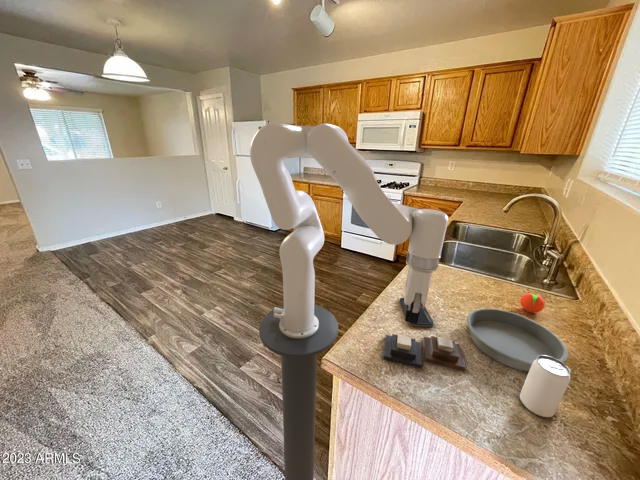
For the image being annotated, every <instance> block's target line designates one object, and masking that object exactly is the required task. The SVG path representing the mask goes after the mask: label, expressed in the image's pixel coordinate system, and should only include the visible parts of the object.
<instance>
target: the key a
mask: <svg viewBox="0 0 640 480" xmlns="http://www.w3.org/2000/svg"><path fill="white" fill-rule="evenodd" d="M397 335H398V337H397V348H401V349H405V350H409V351H410V349H411V338H412V337H410V336H407V335H402V334H397Z"/></svg>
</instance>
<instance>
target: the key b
mask: <svg viewBox="0 0 640 480" xmlns="http://www.w3.org/2000/svg"><path fill="white" fill-rule="evenodd" d="M437 337H438V338H437V346H438V350H443V351H447V352H452V351H453V344H452V340H453V339H452V338H448V337H443V336H439V335H438V336H437Z"/></svg>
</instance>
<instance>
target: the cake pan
mask: <svg viewBox="0 0 640 480" xmlns="http://www.w3.org/2000/svg"><path fill="white" fill-rule="evenodd" d="M466 324H467V326H468V328H469V336H470V338H471V340H472V342H473V343H474V344H475V346H476V347H477V348H478V349H479V350H481V351H482V352H483V353H484V354H485V355H487V356H488V357H490V358H491V359H492V360H494V361H496V362H498V363H501V364H502V365H505V366H507V367H510V368H513V369H514V370H517V371H522V372H527V373H529V370H530V368H531V365H532V363H533V361H534V360H536V359H537V357H538V356H541V355H545V356H550V357H553V358H555V359H557V360H559V361H561V362H562V363H564V364H565V362H566V361H567V360H568V358H569V351H568V348H567V346H566V344H565V342H564V341H562V339H561V338H560V337H559V336H557V335H556V334H555V332H553V331H551V330H550V329H548V328H547V327H545V326H544V325H543V324H540V322H537V321H535V320H534V319H531V318H529V317H527V316H524V315H522V314H519V313H516V312H512V311H508V310H506V309H505V310H504V309H500V308H493V307H492V308H491V307H489V308H488V307H487V308H486V307H485V308H477V309H475V310H471V312H469V313H468V315H467V316H466Z"/></svg>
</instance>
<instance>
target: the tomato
mask: <svg viewBox="0 0 640 480" xmlns="http://www.w3.org/2000/svg"><path fill="white" fill-rule="evenodd" d="M519 302H520V306H521V307H522V309H523V310H525V311H527V312H528V313H536V314H537V313H539V312H540V313H541V311H543V310H544V309H545V305H546V303H545V300H544V298H543V297H542V296H541V295H539V294H537V293H535V292H527V293H525V294H523V295H521V297H520V300H519Z"/></svg>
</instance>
